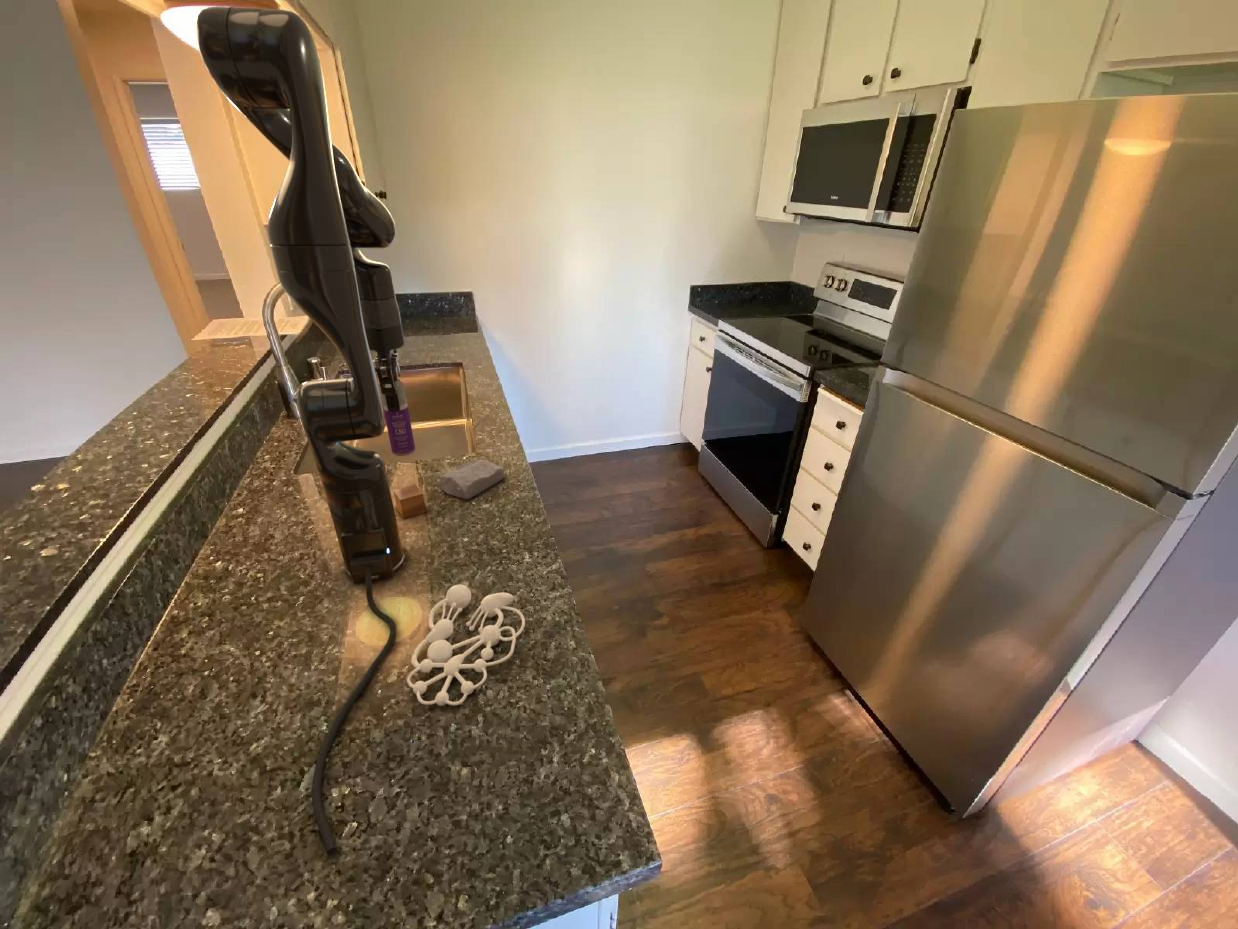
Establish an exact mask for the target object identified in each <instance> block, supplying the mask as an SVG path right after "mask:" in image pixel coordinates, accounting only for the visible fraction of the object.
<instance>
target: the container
mask: <svg viewBox="0 0 1238 929" xmlns="http://www.w3.org/2000/svg"><path fill="white" fill-rule="evenodd" d="M396 385H397V389H398V392H397V394H398V399H399V405H400V410H399V411H395V412H389V411H388V408H387V402H386V397H385V394H382V393H381V387H380V384H379V388H380V393H381V397H382V401H383V406H384V412H385V426H386V428H387V434H388V435H387V436H388V439H389V440H388V441H389V444H390V449H391V454H392V455H393V456H396V457H406V456H410V455H412V454H414V453H415V452H416V445H415V440H414V435H413V428H412V427H413V426H412V421H411V416H410V415H411V414H410V410H409V405H408V400H407V396H406V395H407V394H406V390H405V385H404V382H403V381H401V380H400V381H397V382H396ZM389 387H392V386H391V384H386V388H389Z"/></svg>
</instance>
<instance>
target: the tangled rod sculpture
mask: <svg viewBox="0 0 1238 929" xmlns="http://www.w3.org/2000/svg"><path fill="white" fill-rule="evenodd" d="M471 601H472V592H471V590H470V588H469V587H468V586H466V585H464V584H461V583H458V584H455V585H452V586H451V587H450V588H449V589H448V590H447V592H446V595H445V598H443V599H442V600H441V601H439V602H438V603H436V604H435V605H434V606H433V607H432V608H431V610H430V612H429V615H428V623H427V624H428V628H429V630H430V631H429V632H428V633H427V635H426V636H425V638H424V639H423V640H422V641H421V642H419V643H418V645H417V646H416V648H415V649H414V651H413V654H412V655H411V658H410V659H411V660H410V661H411V664H412V666H413V668H414V669H413V670H412V671H410V673H409V674H408V675H407V678H406V683H407V684H408V687H410V688H412V692H413V693H414V694H415V695H416V699H417V701H418V702H419V703H420V704H421V705H424V706H431V705H435V704H436V705H437V706H439V707H443V706H446V705H449V706H459V705H461V704H463V703H464V702H465V700H466V699H467V697H468V696H469V695H471V694H472V693H473V692H474V690H475V689H477V688H480V687H481V686H482V685H483V684H484V683H485V682H486V680H487V678H488V672H487V667H491V666H492V667H493V666H496V665H499V664H502V663H504V662H506V661H507V660H509V659H510V658H511V657H512V656H513V655H514V652H515V648H516V640H517V638H518V637H519V636H520V635H521V634H522V632H523V631H524V629H525V626H526V620H525V616H524V615H523V613H522V612H521V610H519V609H518V608H515V607H511V606H508V605H510V604H511V603H513V601H514V595H513V594H511V593H509V592H503V591H502V592H496V593H491V594H488V595H486V596H484V597H483V599H482V600H481V602H480V605H479V606H478V608H477V609H476V610H475V612H474V613H473V615H472V616H471V617H470V619H469V621H466V623H465V626H466V627H468V630H469V631H470V632H473V631H475V628H476V625H477V624H478V623H479V621H480V618H481V617H482V616H483V617H482V619H481V622H480V627H478V629H477V632H478V633H479V635H476V636H473V637H471V638H468V639H466V640H463V641H461V642H458V643H455V644H451V643H450V642H449V641H447V640H446V639H448V638H449V637H451V635H452V634H453V632H454V629H455V628H454V624H453V623H454V621H455V619H456V617H457V615H458V614H459V613H461V612H463V609H465V608H467V606H469V604H470V603H471ZM447 605H448V607H449V608H450V609H449V611H448V613H447V616H446V618H445V615H446V606H447ZM441 607H442V615H441V618H440V619H439V620H438V621H437V622H436V623H435V624H434V621H435V620H434V619H435V614H436V612H437V611H438V610H439V609H440V608H441ZM453 610H457V611H456V612H455V613H454V615H453V617H451V618H452V619H451V620H450V616H451V615H452V611H453ZM502 610H506V611H512V612H514V613H516V614H517V615H518V616H519V617H520V619H521V626H520V628H519V630H518V631H517V632H516V630H515V629H514V628H513V627H512V626H509V625H507V626H502V624H503V622H504V617H505V616H504V613H503V612H502ZM478 613H479V614H478ZM477 614H478V616H477ZM495 616H498V619H497V621H496V623H495V624H494V625H493V624H489V625H486V626H484V623H485V621H486V619H487V617H488V618H493V617H495ZM475 618H476V619H475ZM473 621H474V622H473ZM472 623H473V624H472ZM506 630H507V631H511V634H512V636H510V637H503V636H502V633H501V632H503V631H506ZM476 641H477V642H476ZM500 641H503V642H511V646H510V650H509V653H508V654H507V655H506V656H504V657H502V658H500V659H498V660H495V661H491V662H490V661H489V660H492V658H493V657H494V650H493V649H492V647H494V646H496V645H498V643H500ZM474 642H476V643H475V644H473V645H472V646H471V647H470V648H468V649H467V650H466V651H465V652H463V653H460V654H457V655H454V656H453V652H454V650H456V649H458V648H461V647H464V646H466V645H469V644H471V643H474ZM427 644H428V645H429V644H430V645H429V646H428V648H427V651H426V657H427V658H424V659H423V660H421V661H420V663H419V662H418V657H419V655H420V653H421V651H422V649H423V648H424V647H425V646H426V645H427ZM481 645H483V646H485V647H484V648H483V649H482V650H481V651H480V657H481V658H478V659H476V660H475V661H474V662H473V663H464V660H465V658H466V657H468V656H469V655H470V654H471V653H473V652H474V651H475V650H477V649H478V648H479V647H480V646H481ZM486 661H489V662H486ZM434 668H443V672H441V673H440V674H438V675H435V676H434V677H432V678H430V679H428V680H425V681H424V680H418V681H416V682H415V683H414V684H413V683H412V681H411V679H412V677H413V675H414V674H415V673H418V671H421V672H422V673H429V672H431V670H432V669H434ZM470 669H473V670H474V671H475V672H476V673H482V674H483V677H482V679H481V680H480V681H479V682H478V683H477V684H474V683H473V681H470V680H466V679H465V678H464V677H463V676H462V675H461V673H459V672H460V670H470ZM454 677H455V679H457V680H458V682H460V684H461V686H460V692H461V693H462V694H463V696H462V697H461V699H459V700H458V701H451V700H450V695H449V693H448V690H449V687H450V685H451V682H452V680H453V678H454ZM444 678H446V679H445V682H444V684H443V686H442V687H441V690H440V691H439V692H438V693H437V694H436V695H435V697H434V700H429V701H428V700H424V699H422V697H421V696H422V695H424V694H425V693H426V691H427V690H428V686H430V685H432V684H434V683H436V682H438V681H439V680H442V679H444Z"/></svg>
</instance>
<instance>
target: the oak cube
mask: <svg viewBox="0 0 1238 929" xmlns="http://www.w3.org/2000/svg"><path fill="white" fill-rule="evenodd" d="M392 492H393V496H394V500H395V505H396V509H397V511H398V512H399V514H400V515H401V517H402V519H403V520H405V519H408V518H411V517H414V516H418V515H421V514H424V513H426V512H427V510H426V504H425V499H424V493H423V492H422V490H421V489H420V488H419V487H418V485H417V484H416V483H415V484H414V483H413V484H411V485H408V486H404V487H400V488H397V489H393V491H392Z"/></svg>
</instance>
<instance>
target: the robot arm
mask: <svg viewBox="0 0 1238 929" xmlns="http://www.w3.org/2000/svg"><path fill="white" fill-rule="evenodd" d="M195 36H196V43H197V46H198V50H199V54H200V56H201V59H202V61H203V62H204V63H203V64H204V65H205V67H206V69H207V71H208V73H209V75H210V77H211V78H212V80H213V82H214V83H215V85H216V86H217V88H219V90H220V91H221V92H222V94H223V95H224V96H225V97H226V98H227V100H228V101H229V102H230V103H231V104H232V105H233V106H234V107H235V108H236V109H237V110H238V111H239V113H241V114H242V115H243V116H244V118H245V119H247V120H248V121H249V123H251V124H252V125H253V126H254V127H255V128H256V130H258V132H259V133H260V134H261V135H262V136H263V137H264V138H265V139H266V140H268V142H269V143H271V145H272V146H273V147H274V148H276V149H277V151H279V152H280V153H281V154H282V156H284V157H285V158H286V160H288V165H287V169H286V171H285V175H284V177H283V179H282V182H281V184H280V186H279V190H278V191H277V193H276V197H275V199H274V202H273V205H272V207H271V210H270V214H269V217H268V221H267V237H268V242H269V245H270V250H271V253H272V258H273V261H274V262H273V263H274V265H275V269H276V274H277V278H278V281H279V283H280V285H281V287H282V288H283V290H284V291H285V293H286V295H287V296H288V297H289V298H290V300H292V301H293V303H294V304H295V305H296V306H297V308H299V309H300V310H301V311H302V312H303V313H304V314H305V315H306V316H307V318H309V320H311V321H312V322H313V323H314V324H315V325H316V326H317V327H318V328H319V330H321V332H323V334H324V335H325V336H326V337H327V338H328V339H329V340H330V342H331V343H332V344H333V346H334V347H335V348H336V350H337V352H338V353H339V354H340V356H341V357H342V359H343V361H344V363H345V365H346V367H347V370H348V372H349V374H350V377H341V378H329V379H327V378H326V379H313V380H308V381H305V382H302V383H301V384H300V385H299V387H298V389H297V394H296V405H297V410H298V414H299V419H300V422H301V425H302V428H303V431H304V433H305V436H306V439H307V441H308V444H309V447H310V451H311V453H312V456H313V460H314V463H315V466H316V469H317V472H318V475H319V478H320V480H321V485H322V488H323V492H324V494H325V498H326V503H327V506H328V509H329V513H330V517H331V520H332V524H333V527H334V531H335V534H336V539H337V541H338V546H339V549H340V552H341V556H342V560H343V563H344V570H345V572H346V575H347V576H348V577H350V578H351V581H352V583H354V584H355V583H362V582H365V594H366V601H367V604H368V606H369V609H370V610H371V611H372V613H373V614H374V615H376V617H378V618H379V619H381V620H382V621H384V623H386V624H387V625H388V628H389V636H388V639H387V642H386V644H385V645H384V647H383V648H382V650H381V651H380V653H379V654H378V655H377V657H376V658H375V659H374V661H373V662H372V663H371V665H370V666H369V668H368V670H367V671H366V673H365V674H364V676H363V677H362V679H361V680H360V682H359V683H358V684H357V686H356V687H355V689H354V690H353V691H352V693H351V694H350V695H349V697H348V698H347V699H346V701H345V702H344V704H343V705H342V707H341V709H340V710H339V712H338V713H337V715H336V716H335V718H334V720H333V722H332V724H331V726H330V727H329V730H328V732H327V734H326V736H325V739H324V741H323V743H322V746H321V748H320V751H319V754H318V756H317V759H316V763H315V766H314V769H313V770H314V771H313V776H312V785H311V803H312V810H313V815H314V818H315V822H316V825H317V827H318V828H317V829H318V831H319V834H320V836H321V839H322V842H323V845H324V848H325V852H326V855H332V854H333V853H335V852H336V851H337V846H336V842H335V838H334V836H333V833H332V830H331V828H330V824H329V822H328V819H327V816H326V813H325V810H324V805H323V801H322V781H323V773H324V767H325V764H326V760H327V757H328V754H329V751H330V749H331V746H332V744H333V741H334V740H335V738H336V735H337V733H338V731H339V728H340V727H341V725H342V722H343V721H344V719H345V717H346V715H347V714H348V712H349V711H350V709H351V707H352V706H354V703H355V702H356V701H357V699H358V698H359V697H360V695H361V693H362V692H363V691H364V689H365V688H366V686H367V685H368V684H369V682H370V680H371V678H372V677H373V676H374V674H375V672H376V671H377V669H378V668H379V666H380V665H381V663H382V662H383V660H385V658H386V656H387V655H388V653H389V652H390V651H391V649H392V647H393V646H394V643H395V640H396V636H397V626H396V622H395V621H394V619H392V618H391V617H390V616H388V615H387V614H386V613H384V612H383V611H382V610H380V608H378V606H377V604H376V602H375V600H374V595H373V583H372V581H376V580H380V579H381V580H382V579H389V578H392V577H394V573H395V572H397V570H399V569H400V568H401V567H402V566H403V564H404V562H405V559H406V556H405V551H404V548H403V544H402V540H401V535H400V530H399V526H398V521H397V517H396V512H395V506H394V501H393V497H392V492H391V487H390V482H389V478H388V473H387V468H386V462H385V460H384V458H383V457H382V454H380V453H378V452H376V451H374V450H371V449H368V448H362V447H357V446H354V445H351V444H348V443H346V442H349V441H358V440H359V441H360V440H367V439H375V438H379V437H381V436H382V435H383V433H384V431H385V428H386V420H385V412H384V406H383V401H382V397H381V393H382V394H385V397H386V402H387V408H388V411H389V412H395V411H399V410H400V405H399V399H398V394H397V392H398V389H397V385H396V382H397V381H401V379H400V378H401V369H400V365H399V364H400V363H399V362H400V361H399V360H400V359H399V354H398V350H397V349H401V348H402V347H403V346H405V338H404V337H405V336H404V331H403V324H402V318H401V313H400V308H399V304H398V301H397V297H396V291H395V290H396V289H395V285H394V279H393V274H392V273H393V272H392V270H391V268H390V267H389V265H388V264H386V263H384V262H380V261H375V260H372V259H369V258H367V257H365V255H364V254H363V253H362V251H361V250H360V249H385V248H389V247H390V246H391V245H392V244H393V243H394V242H395V240H396V237H397V236H396V235H397V227H396V223H395V220H394V218H393V216H392V214H391V212H390V211H389V210H388V208H387V207H386V206H385V204H384V203H383V202H382V201H381V200H380V199H379V198H378V197H376V196H375V195H374V194H373V193H372V191H370V190H369V189H368V188H367V187H366V186H364V185H363V183H362V181H361V179H360V177H359V176H358V173H357V172H356V170H355V168H354V166H353V165H352V163H351V161H350V160H349V159H348V157H347V156H346V155H345V153H343V151H342V150H340V148H339V147H338V146H337V145H335V143H333V142H332V135H331V129H330V128H331V127H330V118H329V112H328V103H327V95H326V94H327V93H326V88H325V87H326V86H325V81H324V74H323V68H322V64H321V60H320V56H319V51H318V49H317V46H316V41H315V40H314V37H313V35H312V32H311V30H310V28H309V26H308V25H307V23H306V22H305V20H304V19H303V18H302V16H300V15H299V14H297V13H295V12H293V11H290V10H286V9H278V8H277V9H275V8H264V7H263V8H260V7H245V6H243V7H241V6H210V7H209V6H208V7H205V8H203V9H201V10H200V11H199V13H198V14H197V16H196V21H195ZM371 351H374V352H376V355H375V358H374V360H373V358H372V354H371ZM373 361H374V362H373ZM386 384H391V386H392V387H389V388H386ZM379 385H380V386H379ZM380 387H381V392H380Z"/></svg>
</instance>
